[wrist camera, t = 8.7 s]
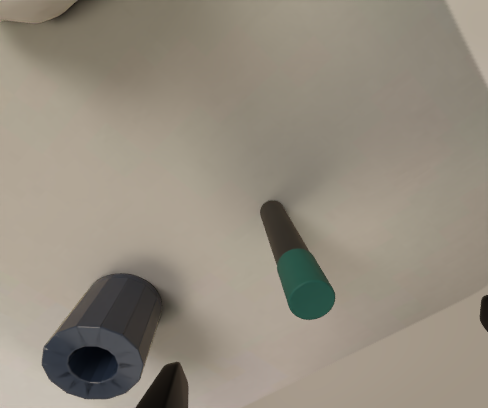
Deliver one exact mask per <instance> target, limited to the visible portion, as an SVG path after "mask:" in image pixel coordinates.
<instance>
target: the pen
mask: <svg viewBox="0 0 488 408" xmlns="http://www.w3.org/2000/svg"><path fill="white" fill-rule="evenodd" d="M260 215H261V218H262V221H263V224H264V227H265V230H266V233H267V236H268V240H269V243H270V246H271V249H272V252H273V255H274V258H275V261H276V264H277V271H278V274H279V277H280V280H281V283H282V287H283V290H284V293H285V296H286V299H287V302H288V305H289V308H290V310H291V312H292V313H293V314H294V315H296V316H297V317H299V318H302V319H306V320H312V319H317V318H320V317H322V316H324V315H325V314H327V313H328V312H329V311H330V310H331V308H332V307H333V305H334V302H335V292H334V290H333V288H332V286H331V285H330V283H329V281H328V280H327V278H326V276H325V275H324V273H323V271H322V270H321V268H320V266H319V265H318V263H317V261H316V260H315V258H314V256H313V255H312V254H311V253H310V252H309V250H308V248H307V247H306V245H305V243H304V242H303V240H302V238H301V237H300V235H299V233H298V231H297V230H296V228H295V226H294V225H293V223H292V221H291V220H290V218H289V216H288V214H287V213H286V211H285V209H284V208H283V206H282V204H281V203H279V202H278V201H268V202H266V203H264V204H263V206H262V207H261V210H260Z"/></svg>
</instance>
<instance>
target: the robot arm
mask: <svg viewBox="0 0 488 408" xmlns="http://www.w3.org/2000/svg"><path fill="white" fill-rule="evenodd" d="M480 321H481V323H482V325H483V326H484V328H485V329H486V330H487V332H488V295H486V296H484V297H483V298H482V300H481V309H480ZM136 408H188V382H187V379H186V376H185V374H184V371H183V369H182V366H181V364H180V363H179V362H175V363H170V364H167V365H165V366H164V367H163V368H162V370H161V371H160V373H159V374H158V376H157V377H156V379H155V380H154V382H153V383H152V385H151V386H150V387H149V389H148V390H147V392H146V393H145V395H144V396H143V398H142V399H141V401H140V402H139V404H138V405H137V406H136Z"/></svg>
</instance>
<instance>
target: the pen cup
mask: <svg viewBox="0 0 488 408" xmlns="http://www.w3.org/2000/svg"><path fill="white" fill-rule="evenodd" d="M161 312H162V302H161V298H160V296H159V294H158V292H157V291H156V289H155V288H154V287H153V286H152V285H151V284H150V283H149V282H147V281H146V280H144V279H142V278H140V277H137V276H134V275H131V274H122V273H120V274H111V275H107V276H105V277H102V278H100V279H99V280H97V281H96V282H95V283H94V284H93V285H92V286H91V287H90V288H89V289H88V291H87V292H86V293H85V294H84V295H83V297H82V298H81V299H80V300H79V302H78V303H77V304H76V306H75V307H74V308H73V309H72V311H71V312H70V313H69V315H68V316H67V317H66V318H65V320H64V321H63V322H62V324H61V325H60V326H59V327H58V329H57V330H56V331H55V333H54V334H53V335H52V337H51V338H50V339H49V340H48V342H47V343H46V344H45V346H44V348H43V356H42V366H43V368H44V370H45V372H46V374H47V376H48V378H49V379H50V380H51V382H53V383H54V384H55V385H57V386H58V387H59V388H61V389H62V390H63V391H65V392H66V393H68V394H71V395H75V396H78V397H81V398H84V399H110V398H113V397H116V396H119V395H122V394H124V393H126V392H128V391H129V390H130V389H131V388H132V387H133V386H134V385H135V384H136V383H137V382H138V381H139V380H140V378H141V375H142V372H143V369H144V366H145V363H146V360H147V357H148V354H149V350H150V347H151V344H152V341H153V338H154V335H155V332H156V329H157V326H158V322H159V319H160V315H161Z"/></svg>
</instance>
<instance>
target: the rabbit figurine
mask: <svg viewBox="0 0 488 408" xmlns="http://www.w3.org/2000/svg"><path fill="white" fill-rule="evenodd" d="M76 1H78V0H0V22H2V21H5V20H7V21H15V22H24V23H31V24H37V23H41V22H44V21H47V20H50V19H52V18H55V17H58V16H59V15H61V14H62V13H64V12H65V11H66V10H67V9H68V8H69V7H70V6H72V5H73V4H74V3H75V2H76Z"/></svg>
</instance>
